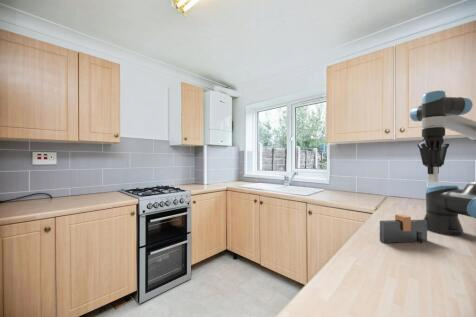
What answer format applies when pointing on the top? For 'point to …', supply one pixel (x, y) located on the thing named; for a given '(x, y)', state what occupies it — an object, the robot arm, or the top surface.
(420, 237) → the arm
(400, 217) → the orange slotted clip
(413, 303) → the top surface
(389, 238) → the tongs hinged arm
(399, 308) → the top surface
